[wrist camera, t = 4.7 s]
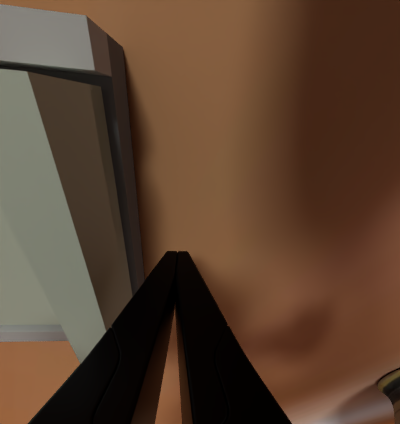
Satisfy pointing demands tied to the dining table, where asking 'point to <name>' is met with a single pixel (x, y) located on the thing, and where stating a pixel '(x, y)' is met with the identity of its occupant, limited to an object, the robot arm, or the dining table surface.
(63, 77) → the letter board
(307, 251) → the dining table surface
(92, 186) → the sage shutter
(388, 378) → the amphora
